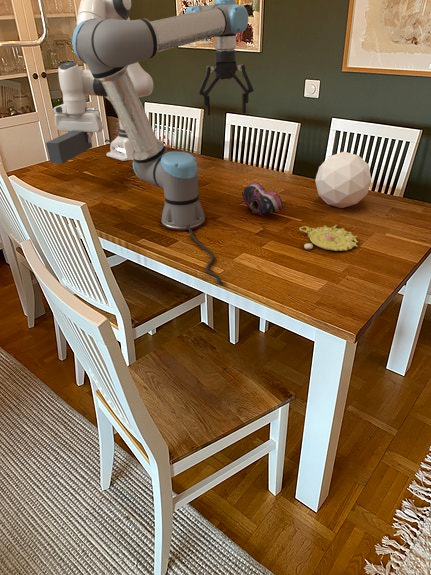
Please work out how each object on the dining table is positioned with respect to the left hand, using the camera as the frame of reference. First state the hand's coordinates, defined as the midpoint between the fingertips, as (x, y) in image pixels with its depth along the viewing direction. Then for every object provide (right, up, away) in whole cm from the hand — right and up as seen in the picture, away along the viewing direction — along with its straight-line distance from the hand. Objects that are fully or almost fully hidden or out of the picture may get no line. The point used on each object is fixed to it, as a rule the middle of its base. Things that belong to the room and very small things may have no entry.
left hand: (82, 142), depth 187 cm
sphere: (+103, -31, -21) cm, 109 cm away
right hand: (+60, +4, -20) cm, 64 cm away
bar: (-2, -7, -6) cm, 9 cm away
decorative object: (+93, -46, -45) cm, 113 cm away
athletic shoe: (+72, -33, -24) cm, 83 cm away
